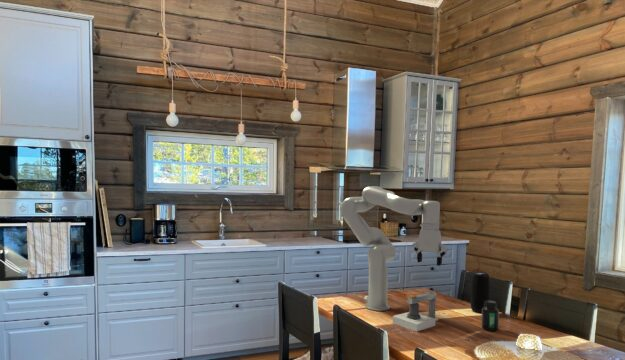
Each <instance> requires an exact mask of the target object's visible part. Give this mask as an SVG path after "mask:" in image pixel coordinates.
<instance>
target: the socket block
mask: <svg viewBox="0 0 625 360" xmlns="http://www.w3.org/2000/svg"><path fill="white" fill-rule="evenodd" d="M436 299H437V298H436ZM436 299H432V300H428V312H427V313H428V316H427V315H424V314H422V313H419V315H421V317H420V319H417V320H413V319H410V318H408V317H407V314H408V313H409V311H408V312H404V313H399V314H394V315H393V316H392V324H393V325H397V326H399V327H402V328H406V329H408V330H411V331H414V332H420V331H423V330H427V329H430V328H432V327H436V322H437V321H439V319H437V318H436V301H437V300H436Z"/></svg>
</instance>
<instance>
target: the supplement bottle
mask: <svg viewBox="0 0 625 360" xmlns="http://www.w3.org/2000/svg"><path fill="white" fill-rule="evenodd" d="M497 304H498V303H497V302H496V300H495V301H494V300H490V299H489V300H485V304H484V305H485V306H484V307H483V308H482V312H481V328H482V330H484V331H487V332H498V331H499V327H500V326H499V324H500V311H499V309H498V308H497V307H498V305H497Z"/></svg>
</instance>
